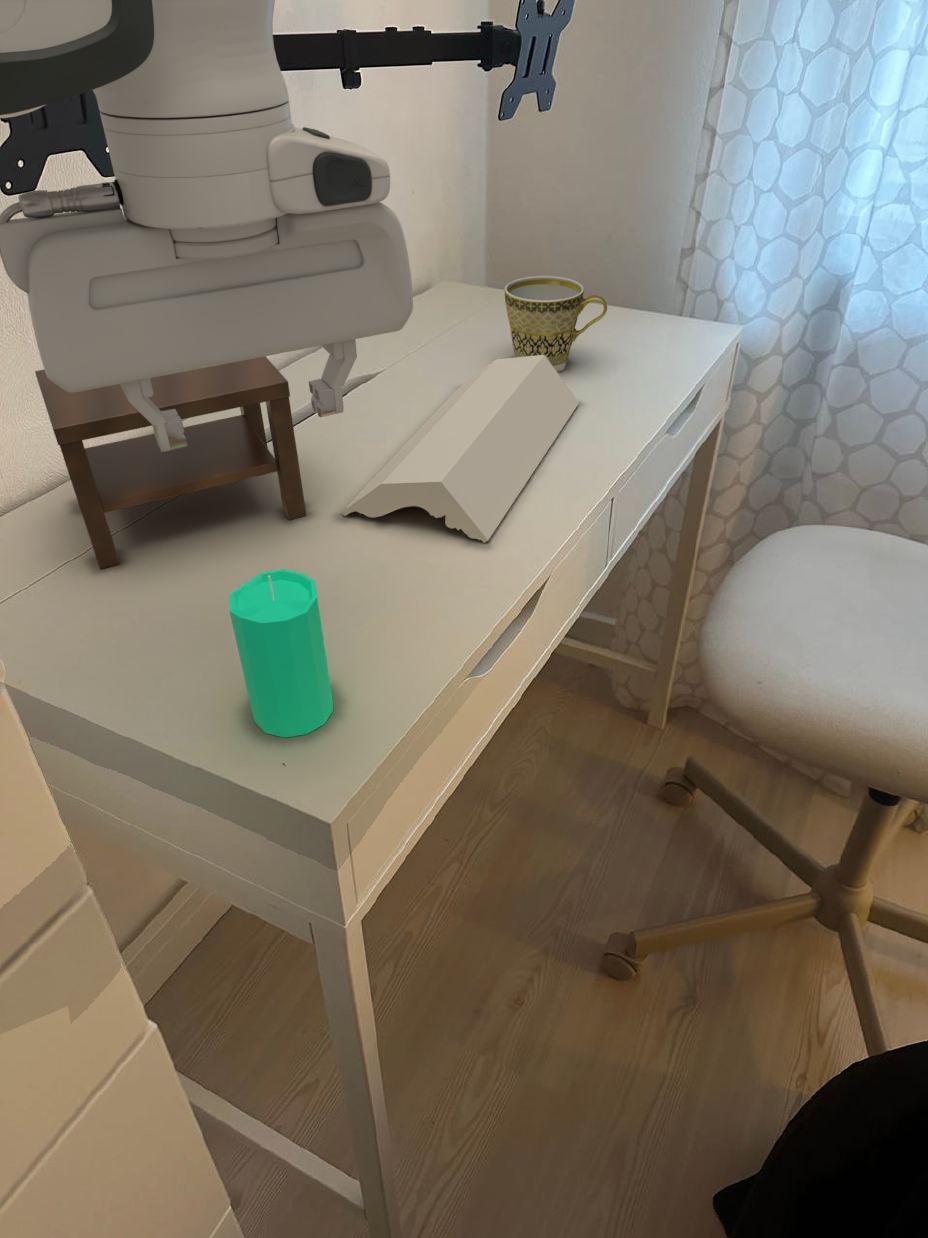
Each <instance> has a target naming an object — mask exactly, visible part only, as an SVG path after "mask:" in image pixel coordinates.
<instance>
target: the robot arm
mask: <svg viewBox="0 0 928 1238" xmlns="http://www.w3.org/2000/svg"><path fill="white" fill-rule="evenodd" d="M275 3H276V0H0V119H9V118H13V117H17V116H23V115H26V114H29V113H32V112H34V111H36V110H38V109H42V108H43V107H44V106H47V105H50V104H53V103H58V102H60V101H63V100H66V99H69V98H73V97H75V96H80V95H82V94H86V93H88V92H90V91H92V92H93V94H94V96H95V99H96V102H97V107H98V110H99V116H100V120H101V124H102V128H103V132H104V136H105V140H106V145H107V150H108V153H109V158H110V162H111V166H112V170H113V175H114V177H115V179H114V181H110V182H108V181H105V182H99V183H93V184H85V185H83V184H82V185H79V186H73V187H70V188H66V189H64V190H63V189H61V190H53V191H51V190H50V191H48V190H46V189H42V190H41V189H40V190H39V189H37V190H32V191H27V192H24V193H21V194H19V195H18V196H17V198H18V202H15V203H13V204H11V205H9V206H7V207H6V208H5V209H4V210H3V211H2V212H1V213H0V259H1V261H2V262H1V263H2V265H3V268H4V271H5V272H6V274H7V275H6V276H7V277H8V278H9V279H10V280H11V282H12V283H13V284H14V285H15V287H17V288H18V289H20V290H21V291H23V292H24V293H26V295H27V303H28V308H29V313H30V319H31V323H32V328H33V333H34V336H35V341H36V346H37V349H38V352H39V356H40V360H41V363H42V367H43V370H45V373H46V375H47V377H48V378H49V379H50V380H51V381H52V382H53V383H55V384H56V385H58V386H59V387H61V388H62V389H64V390H65V391H67V392H80V391H85V390H90V389H95V388H101V387H106V386H111V385H117V384H121V387H122V390H123V392H124V394H125V396H126V398H127V400H128V401H129V402H130V403H131V404H132V405H133V406H134V407H135V408H136V409H137V410H138V411H139V412H140V413H141V414H142V415H143V416H144V417H145V418H146V419H147V420H148V421H149V422H150V423H151V424H152V426H151V427H152V430H153V434H155V438H156V441H157V443H158V446H159V448H160V450H161V452H165V451H170V450H173V449H178V448H182V447H186V446H187V440H186V437H185V436H184V434H183V433H184V427H185V426H184V423H183V419H181V418H180V416H178V413H177V411H176V409H170V410H165V411H160V409H159V408H158V407H157V406H156V405H155V404H154V403H153V402H152V401H151V400H150V399H149V398H148V397H151V396H153V394H154V393H153V388H152V384H151V380H150V378H153V377H159V376H164V375H169V374H174V373H180V372H185V371H190V370H196V369H201V368H206V367H211V366H217V365H222V364H227V363H233V362H238V361H243V360H248V359H254V358H259V357H264V356H266V357H269V356H275V355H279V354H285V353H289V352H295V351H300V350H301V351H302V350H306V349H312V348H316V347H317V348H318V347H322V348H323V349H324V350H325V352H327V353H328V354H329V355H328V358H327V360H326V363H325V366H324V369H323V372H322V374H321V377H320V378H318V379H314V380H309V381H308V386H309V387H308V388H309V393H310V394H311V395H312V396H311V397H310V403H311V407H312V409H313V411H314V413H316V414H317V416H318V417H319V418H324V417H328V416H333V415H337V414H342V413H344V410H345V408H344V397H343V389H342V387H344V386H345V384H346V382H347V380H348V377H349V375H350V373H351V370H352V369H353V366H354V365H355V362H356V360H357V358H358V353H357V343H356V340H359V339H364V338H369V337H375V336H380V335H385V334H391V333H395V332H396V333H397V332H399V331H401V330H403V328H404V327H405V326H406V324H407V322H408V321H409V319H410V317H411V315H412V313H413V311H414V310H413V309H414V295H413V294H414V293H413V281H412V274H411V266H410V265H411V264H410V260H409V258H410V257H409V254H408V247H407V242H406V237H405V233H404V230H403V227H402V224H401V221H400V219H399V218H398V215H396V213H395V212H394V211H393V210H392V208H390V206H388V205H386V204H384V203H383V201H385V200H386V199H387V198H388V196H389V194H390V191H391V172H390V171H391V170H390V167H389V165H388V164H389V163H388V162H387V161H386V159H384V158H383V157H382V156H380V155H378V154H377V153H375V152H374V151H372V150H370V149H368V148H366V147H364V146H362V145H360V144H357V143H354V142H352V141H349V140H346V139H342V138H338V137H335V136H333V135H329V134H327V133H325V132H323V131H320V130H318V129H315V128H310V127H305V126H304V127H302V128H300V127H295V125H294V123H293V120H292V114H291V105H290V98H289V91H288V87H287V84H286V81H285V78H284V76H283V72H282V71H281V68H280V65H279V62H278V59H277V55H276V49H275V44H274V31H273V28H274V27H273V25H274V24H273V22H274V11H275ZM19 213H22V214H23V217H20V218H13V217H14V216H15V215H17V214H19Z"/></svg>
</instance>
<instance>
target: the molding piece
mask: <svg viewBox="0 0 928 1238" xmlns="http://www.w3.org/2000/svg"><path fill="white" fill-rule="evenodd" d="M579 404H580V402H579V400H578V399H577V397H576V396H575V395H574V393H573V392H572V390H571V389H570V388H569V386H568V385H567V384H566V382H565V381H564V380H563V378H562V377H561V375H560V374H559V372H557V371H556V370H555V369H554V367H553V366H552V364H551V363H550V362H549V360H548V359H547V358H546V356H545V355H537V356H526V357H516V358H515V357H507V358H506V357H505V358H498V359H496V358H495V359H494V360H493V361H491V362H490V363H489V364H488V365H486V366H485V367H483V368H482V369H481V370H480V371H478V372H477V373H475V374H474V375H473V376H471V377H470V378H469V379H467V380H466V381H465V382H463V383H462V384H461V385H459V387H457V389H456V390H455V391H454V392H453V393H452V394H451V395H450V396H449V397H448V398H447V399H446V400H445V401H444V403H443V404H442V405H441V406H439V407H438V409H437V410H436V411H435V412H434V413H433V414H432V416H430V418H428V420H426V421H425V422H424V424H423V425H422V426H421V427H420V428H419V429H418V430H417V431H416V432H415V433H414V434H413V435H412V436H411V438H409V439H408V440H407V442H406V443H405V444H404V445H403V446H402V447H401V448H400V449H399V450H398V451H397V452H396V453H395V454H394V455H393V456H392V457H391V459H390V460H389V461H388V462H387V463H386V464H385V465H384V466H383V467H382V468H381V469H380V470H379V472H377V474H376V475H374V477H373V478H372V479H371V480H370V481H369V482H368V483H367V484H366V485H365V486H364V487H363V488H362V490H360V492H359V493H357V495H355V497H354V498H353V499H352V500H351V501H350V502H349V503H348V504H347V505H346V507H344V509H342V510H341V514H342V515H343V516H344V517H346V516H348V515H349V514H351V513H354V512H356V513H359V514H360V515H362V514H363V515H364V516H366V517H367V518H379V517H383V516H385V515H388V514H390V513H392V512H394V511H397V510H400V509H403V508H409V507H418V508H420V509H423V510H425V511H426V512H427V513H429V515H430V516H431V517H434V518H435V519H438V518H440V519H441V518H442V517H444V520H445V521H444V524H445V526H446V527H447V528H449V529H456V530H457V531H460V530H461V531H462V532H463V533H464V534H465V535H466V536H467V537H468V538H470V539H473V540H474V539H475V540H478V541H482V543H483V544H484V543H486V542H488V541H489V540H490V539H491V537H492V536H493V534H494V532H495V531H496V529H497V528H498V526H499V525H500V524H501V522H502V520H503V519H504V517H505V516H506V514H507V513H508V511H509V510H510V508H511V507H512V505H513V504H514V502H515V501H516V499H517V498H518V496H519V495H520V493H521V492H522V490H523V488H524V487H525V486H526V484H527V483H528V481H529V479H530V478H531V477H532V475H533V473H534V472H535V470H536V469H537V468H538V466H539V465H540V463H541V461H542V460H543V458H544V457H545V455H546V454H547V452H548V451H549V449H550V448H551V447H552V444H553V443H554V442H555V440H556V439H557V437H558V436H559V435H560V433H561V431H562V430H563V428H564V427H565V425H566V424H567V422H568V421H569V419H570V418H571V416H572V414H573V413H574V412H575V410H576V408H577V407H578V405H579Z"/></svg>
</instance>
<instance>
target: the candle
mask: <svg viewBox="0 0 928 1238" xmlns="http://www.w3.org/2000/svg"><path fill="white" fill-rule="evenodd" d="M228 608H229V609H228V611H229V616H230V619H231V624H232V629H233V633H234V634H233V635H234V638H235V642H236V647H237V651H238V655H239V660H240V664H241V669H242V673H243V677H244V682H245V687H246V691H247V696H248V700H249V704H250V705H249V706H250V709H251V713H252V717H253V722H254V723H255V724H256V725H257V726H258V728H260V729H261V730H262V732H264V733H265V734H269V735H273V736H276V737H281V738H292V737H297V736H306V735H308V734H310V733H311V732H313V731H315V730H316V729H319V728H320V727H322V726H323V725H325V724H326V722H327V721H328V720H329V718H330V717H331V715H332V714H333V712H334V702H333V694H332V693H333V692H332V687H331V680H330V674H329V673H330V672H329V667H328V660H327V654H326V647H325V639H324V633H323V626H322V620H321V619H322V618H321V613H320V606H319V600H318V592H317V585H316V580H314V579H312V578H311V577H309V576H307V575H306V574H304V573H302V572H298V571H295V570H294V571H293V570H288V569H284V568H281V569H274V570H268V571H263V572H259V573H257V575H255V576H254V577H252V578H250V579H249V580H248V581H246V582H245V583H243V584H242V585H240V586H239V587H237V588H236V589H234V590H233V591H231V592H230V593H229V594H228Z"/></svg>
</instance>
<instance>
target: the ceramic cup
mask: <svg viewBox="0 0 928 1238" xmlns="http://www.w3.org/2000/svg"><path fill="white" fill-rule="evenodd" d="M503 289H504V303H505V308H506V314H507V319H508V323H509V329H510V336H511V341H512V342H511V343H512V349H513V355H514V357H513V358H516V357H526V356H537V355H545V356H546V358H547V359H548V360H549V362H550V363H551V364H552V366H553V367H554V369H555V370H556V371H557V373H559V372H562V371H565V368H566V366H567V364H568V360H569V355H570V351H571V347H572V345H573V343H574V342H575V341H576V340H577V338H578V337H579V336H580V335H582V334H583V333H584V332H586V330H587V329H588V328H590V327H591V326H592V325H594V324H595V323H596V322H598V321H600V320H602V319H603V317H604V316H605V315H606V314H607V311H608V305H607V302H606V300H605V299H604V297H602V296H600V295H597V294H594V295H589V296H587V297H585V298H584V293H585V286H584V285H583V284H581V282H578V281H577V280H574V279H571V278H568V277H562V276H555V275H535V276H526V277H521V278H517V279H514V280H512V281H509V282H508V283H507V284H506V285H505V287H504V288H503ZM593 302H599V303H601V304H602V306H603V311H602V313H601V314H599V316H597V317H596V318H593V319H592V320H590V321H589V322H587V324H586V325H584V327H582V329H579V330H577V329H576V325H577V321H578V318H579V316H580V314H581V313H582V312H583V311H584V309H585V307H586V306H588V305H589V304H590V303H593Z"/></svg>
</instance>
